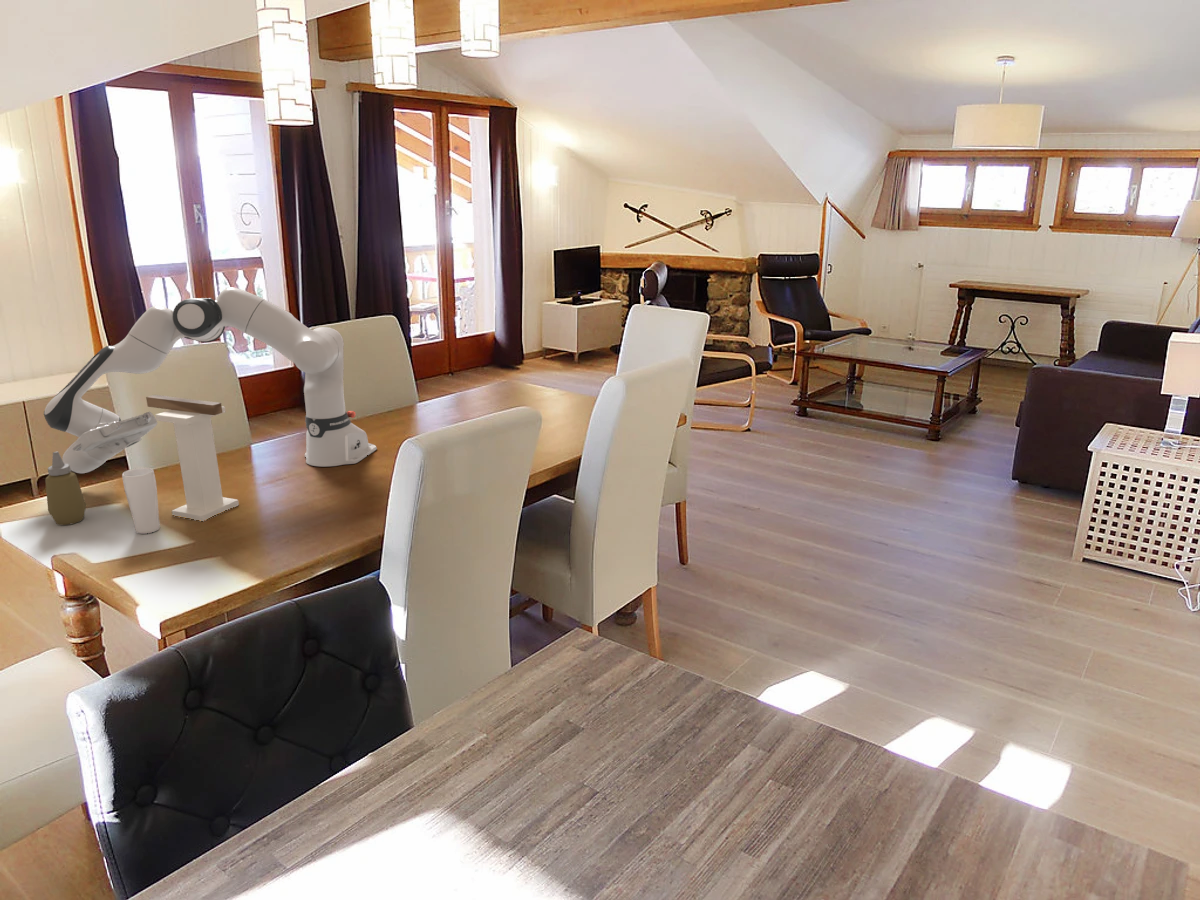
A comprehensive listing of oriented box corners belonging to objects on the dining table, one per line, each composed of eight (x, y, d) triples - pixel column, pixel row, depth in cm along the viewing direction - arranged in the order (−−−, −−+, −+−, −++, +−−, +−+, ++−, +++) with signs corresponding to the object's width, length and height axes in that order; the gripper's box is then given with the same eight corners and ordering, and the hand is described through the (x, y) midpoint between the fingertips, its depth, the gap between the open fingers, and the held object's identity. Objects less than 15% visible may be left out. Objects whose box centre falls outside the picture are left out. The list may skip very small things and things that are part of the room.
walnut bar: (155, 404, 217) (154, 394, 217) (222, 412, 209) (221, 402, 209) (147, 406, 215) (145, 396, 214) (214, 415, 207) (213, 405, 206)
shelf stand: (209, 499, 227) (194, 402, 219) (238, 505, 223) (224, 406, 215) (172, 516, 216) (155, 414, 208) (202, 521, 213) (186, 418, 204)
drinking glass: (169, 525, 210) (159, 467, 206) (153, 536, 204) (142, 477, 199) (143, 524, 211) (133, 466, 207) (126, 535, 205) (115, 476, 200)
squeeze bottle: (49, 529, 208) (34, 459, 203) (52, 518, 215) (37, 450, 209) (88, 523, 212) (74, 454, 206) (89, 512, 218) (75, 445, 213)
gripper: (62, 440, 217) (91, 419, 211) (132, 419, 235) (160, 399, 229) (76, 462, 218) (104, 441, 211) (144, 440, 236) (172, 420, 229)
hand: (134, 419), depth 220 cm, fingers open, 8 cm apart
